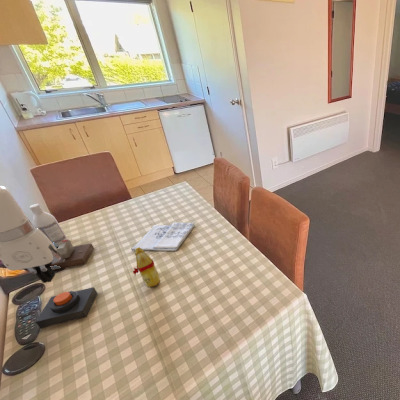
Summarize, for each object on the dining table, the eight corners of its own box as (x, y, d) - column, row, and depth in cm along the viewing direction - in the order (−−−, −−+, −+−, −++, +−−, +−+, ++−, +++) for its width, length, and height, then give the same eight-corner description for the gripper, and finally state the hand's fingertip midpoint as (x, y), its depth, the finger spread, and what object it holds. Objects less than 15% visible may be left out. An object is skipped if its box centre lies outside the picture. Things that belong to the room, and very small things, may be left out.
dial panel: (48, 271, 103) (44, 265, 101) (60, 255, 111) (56, 249, 109) (85, 264, 106) (81, 258, 105) (94, 248, 114) (91, 242, 113)
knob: (68, 257, 105) (62, 247, 102) (62, 258, 104) (56, 248, 102) (74, 249, 110) (68, 239, 107) (69, 250, 109) (62, 240, 106)
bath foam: (49, 242, 118) (24, 204, 108) (69, 237, 121) (46, 199, 111) (47, 251, 113) (20, 212, 103) (68, 245, 116) (44, 206, 106)
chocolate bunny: (155, 267, 104) (142, 237, 97) (163, 283, 97) (149, 252, 90) (135, 276, 100) (120, 245, 93) (142, 293, 93) (126, 261, 86)
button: (53, 307, 83) (50, 303, 82) (59, 297, 86) (56, 293, 86) (69, 303, 84) (66, 299, 83) (74, 294, 88) (71, 290, 87)
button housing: (40, 328, 82) (31, 318, 79) (56, 303, 90) (48, 292, 88) (86, 317, 85) (79, 306, 83) (97, 293, 93) (91, 283, 91)
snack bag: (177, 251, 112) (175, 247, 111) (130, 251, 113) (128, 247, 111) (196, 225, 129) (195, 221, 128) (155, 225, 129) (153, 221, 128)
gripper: (-34, 245, 66) (10, 295, 75) (40, 232, 70) (73, 281, 80) (-13, 228, 72) (26, 276, 82) (54, 217, 76) (83, 264, 86)
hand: (49, 278), depth 81 cm, fingers closed
